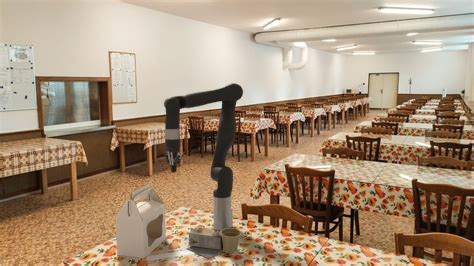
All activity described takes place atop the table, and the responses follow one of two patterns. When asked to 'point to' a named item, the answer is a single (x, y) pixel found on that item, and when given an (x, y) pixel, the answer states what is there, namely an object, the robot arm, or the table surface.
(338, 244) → the table surface
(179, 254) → the table surface
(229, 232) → the flower pot
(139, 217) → the gable box
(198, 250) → the grey flat slab
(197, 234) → the coffee box
